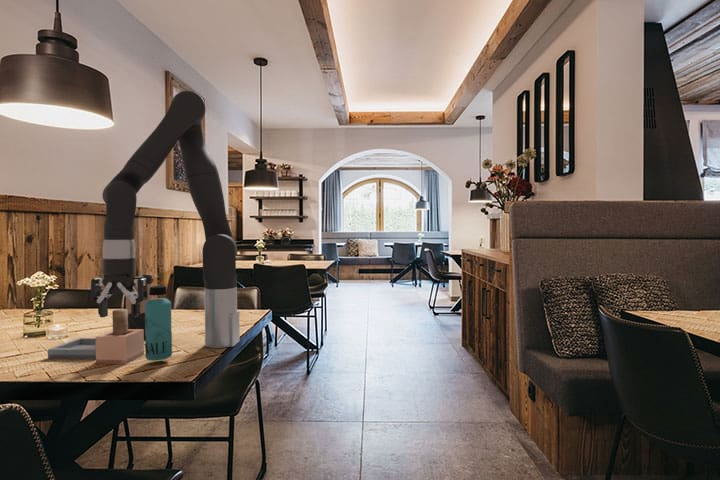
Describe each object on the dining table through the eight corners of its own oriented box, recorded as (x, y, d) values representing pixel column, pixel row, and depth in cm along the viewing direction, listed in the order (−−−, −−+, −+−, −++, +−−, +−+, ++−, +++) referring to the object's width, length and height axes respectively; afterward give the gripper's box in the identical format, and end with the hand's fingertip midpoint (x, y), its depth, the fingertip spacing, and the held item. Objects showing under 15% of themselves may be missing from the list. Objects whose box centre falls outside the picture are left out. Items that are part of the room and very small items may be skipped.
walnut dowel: (131, 353, 109) (130, 309, 109) (123, 357, 105) (122, 311, 105) (118, 353, 109) (117, 309, 109) (110, 357, 106) (109, 311, 105)
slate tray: (126, 346, 119) (126, 337, 119) (98, 358, 107) (98, 349, 107) (80, 346, 120) (80, 337, 120) (47, 358, 108) (47, 349, 108)
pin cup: (144, 354, 111) (143, 329, 111) (126, 363, 103) (126, 336, 103) (115, 354, 111) (115, 329, 111) (96, 363, 103) (95, 336, 103)
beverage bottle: (165, 357, 109) (164, 283, 108) (177, 362, 104) (176, 285, 104) (140, 363, 104) (139, 286, 103) (151, 368, 99) (150, 288, 99)
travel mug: (141, 342, 124) (140, 277, 124) (120, 340, 125) (119, 277, 125) (158, 335, 131) (157, 275, 131) (138, 334, 133) (137, 274, 133)
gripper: (153, 256, 110) (153, 314, 111) (102, 255, 111) (102, 313, 111) (137, 257, 103) (136, 320, 103) (83, 257, 103) (83, 319, 104)
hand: (119, 317), depth 107 cm, fingers open, 8 cm apart
